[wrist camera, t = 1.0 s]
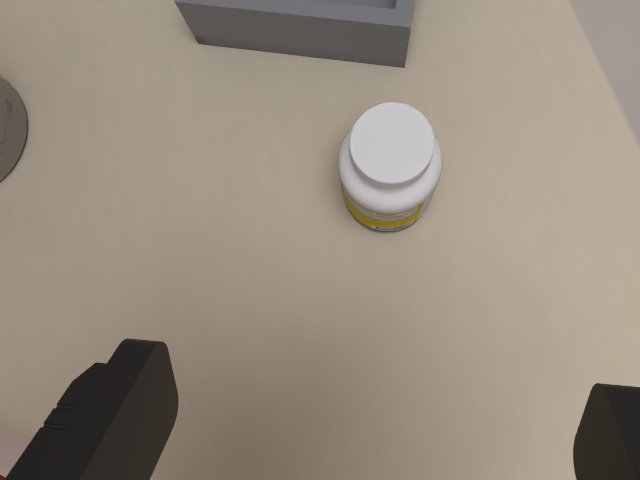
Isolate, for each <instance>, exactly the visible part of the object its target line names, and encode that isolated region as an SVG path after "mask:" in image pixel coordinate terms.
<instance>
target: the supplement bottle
mask: <svg viewBox="0 0 640 480" xmlns="http://www.w3.org/2000/svg"><path fill="white" fill-rule="evenodd" d="M338 169H339V175H340V180H341V185H342V190H343V195H344V199H345V203H346V206H347V208H348V210H349V212H350V213H351V215H352V216H353V217H354V219H355V220H356V221H357V222H358V223H360V224H361V225H363V226H364V227H366V228H368V229H370V230H372V231H376V232H380V233H393V232H398V231H401V230H404V229H406V228H408V227H410V226H411V225H413V224H414V223H415V222H416V221H417V220H418V219H419V218H420V217H421V216H422V215H423V213H424V211H425V210H426V208H427V206H428V204H429V202H430V199H431V197H432V195H433V192H434V190H435V188H436V186H437V183H438V181H439V178H440V175H441V171H442V151H441V147H440V144H439V142H438V139H437V138H436V136H435V134H434V133H433V130H432V127H431V125H430V123H429V121H428V120H427V118H426V117H425V116H424V115H423V114H422V113H421V112H420V111H418V110H417V109H415V108H413V107H412V106H409V105H407V104H403V103H398V102H387V103H382V104H378V105H376V106H373V107H371V108H370V109H368V110H367V111H365V112H364V113H363V114H362V115H361V116H360V117H359V118H358V119H357V121H356V122H355V124H354V126H353V127H352V128H351V129H350V130H349V132H348V133H347V135H346V136H345V138H344V140H343V142H342V144H341V147H340V151H339V157H338Z"/></svg>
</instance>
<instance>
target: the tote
mask: <svg viewBox="0 0 640 480" xmlns="http://www.w3.org/2000/svg"><path fill="white" fill-rule="evenodd" d="M175 3H176V5H177V7H178V8H179V10H180V12H181V14H182V15H183V17H184V19H185V21H186V22H187V24H188V26H189V27H190V29H191V31H192V33H193V34H194V36H195V38H196V40H197V41H198V43H199V44H206V45H215V46H223V47H232V48H241V49H249V50H258V51H266V52H275V53H283V54H292V55H301V56H309V57H318V58H326V59H335V60H344V61H352V62H361V63H369V64H378V65H386V66H395V67H404V66H405V60H406V53H407V47H408V40H409V34H410V27H411V20H412V14H413V7H414V0H175Z"/></svg>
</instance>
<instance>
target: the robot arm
mask: <svg viewBox="0 0 640 480" xmlns="http://www.w3.org/2000/svg"><path fill="white" fill-rule="evenodd" d="M26 133H27V118H26V112H25V109H24V105H23V102H22V100H21V99H20V97H19V95H18V93H17V92H16V90H15V89H14V88H13V87H12V86H11V85H10V84H9V83H8V82H7V81H5V80H4V79H2V78H1V77H0V181H1V180H2V179H3V178H4V177H5V176H6V175H7V174H8V173H9V172H10V170H11V169H12V168H13V167H14V165H15V163H16V162H17V160H18V158H19V157H20V155H21V152H22V149H23V147H24V144H25V140H26ZM177 411H178V392H177V388H176V383H175V379H174V374H173V370H172V365H171V361H170V356H169V352H168V348H167V346H166V344H165V343H164V342H159V341H149V340H138V339H125V340H123V341H122V342H121V343H120V345H119V346H118V347H117V349H116V351H115V352H114V354H113V355H112V357H111V358H110V360H109V361H108V363H107V364H105V363H95V364H94V365H92V366H91V367H90V368H89V369H87V370H86V371H85V372H84V373H82V374H81V375H80V376H78V377H77V378H76V379H75V380H73V381H72V383H71V384H70V386H69V387H68V388H67V390H66V391H65V393H64V394H63V396H62V397H61V399H60V400H59V402H58V403H57V407H56V409H55V408H54V409H53V410H52V412H51V413H50V415H49V416H48V417H47V419H46V420H45V422H44V426H43V428H40V429H39V430H38V432H37V433H36V435H35V436H34V438H33V439H32V441H31V442H30V443H29V445H28V446H27V448H26V449H25V451H24V452H23V454H22V455H21V457H20V458H19V459H18V461H17V462H16V464H15V465H14V467H13V468H12V470H11V471H10V473H9V474H8V475H7V477H6V478H5V480H150V478H151V475H152V473H153V471H154V469H155V466H156V464H157V462H158V460H159V458H160V455H161V453H162V451H163V449H164V446H165V444H166V442H167V440H168V438H169V435H170V433H171V431H172V429H173V426H174V424H175V420H176V417H177ZM573 461H574V470H575V475H576V479H577V480H640V387H632V386H621V385H610V384H599V383H597V384H595V385H594V386H593V387H592V390H591V392H590V395H589V398H588V401H587V404H586V407H585V410H584V413H583V416H582V419H581V422H580V425H579V427H578V430H577V433H576V436H575V440H574V447H573Z"/></svg>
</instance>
